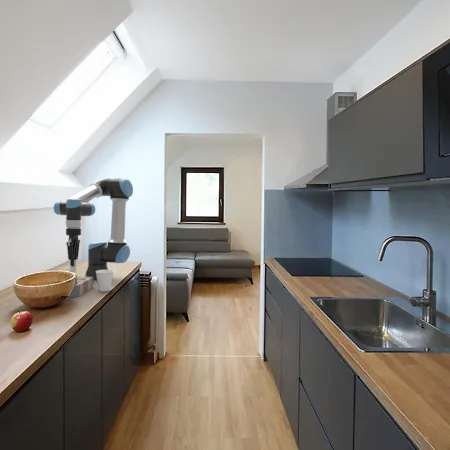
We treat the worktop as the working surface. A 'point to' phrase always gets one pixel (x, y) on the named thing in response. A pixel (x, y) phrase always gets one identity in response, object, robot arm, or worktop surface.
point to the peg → (75, 278)
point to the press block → (81, 286)
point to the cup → (104, 279)
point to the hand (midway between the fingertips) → (73, 271)
